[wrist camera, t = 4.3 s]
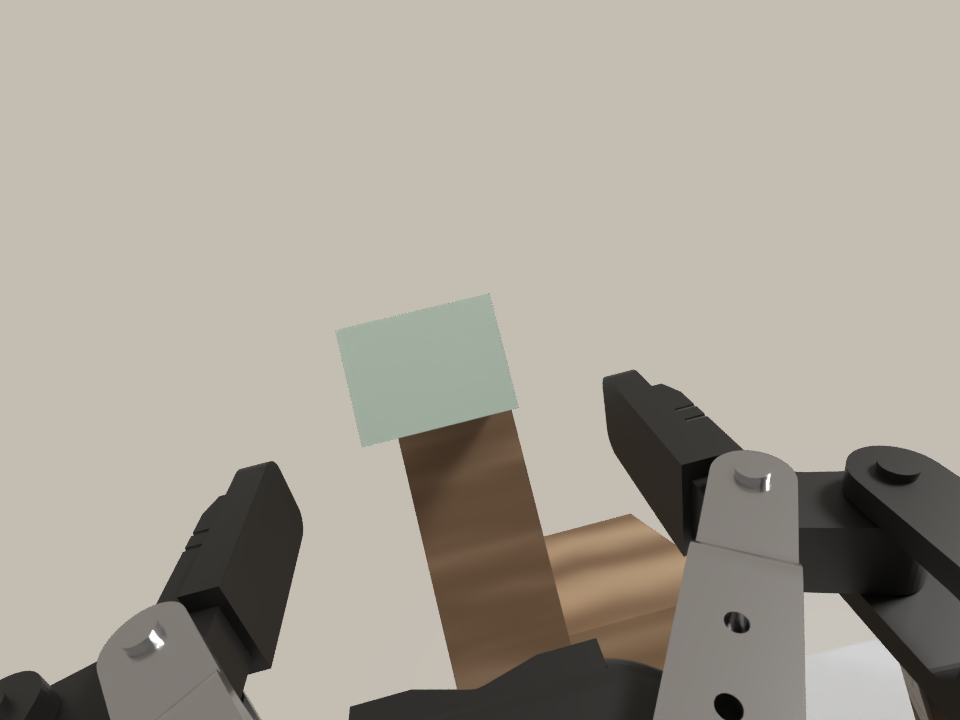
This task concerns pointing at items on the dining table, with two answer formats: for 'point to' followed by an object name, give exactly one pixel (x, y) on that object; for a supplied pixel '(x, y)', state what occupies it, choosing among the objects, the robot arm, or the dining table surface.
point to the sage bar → (426, 369)
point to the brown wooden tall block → (529, 560)
